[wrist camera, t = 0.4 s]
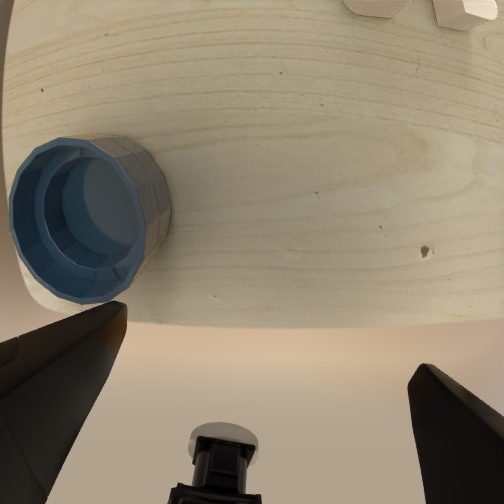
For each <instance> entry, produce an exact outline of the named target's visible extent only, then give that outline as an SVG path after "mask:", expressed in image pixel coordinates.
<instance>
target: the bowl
mask: <svg viewBox="0 0 504 504" xmlns="http://www.w3.org/2000/svg"><path fill="white" fill-rule="evenodd" d="M170 210H171V203H170V199H169V194H168V190H167V186H166V182H165V177H164V175H163V173H162V172H161V170H160V169H159V168H158V166H157V165H156V163H155V162H154V160H153V159H152V157H151V156H150V154H149V153H148V152H147V151H146V150H145V149H143V148H141V147H140V146H138V145H137V144H135V143H134V142H132V141H130V140H129V139H127V138H126V137H123V136H116V135H107V134H89V135H77V136H67V137H59V138H57V139H54V140H52V141H50V142H48V143H45V144H43V145H41V146H39V147H37V148H35V149H34V150H33V151H32V152H31V154H30V155H29V156H28V157H27V158H26V160H25V161H24V162H23V163H22V165H21V166H20V167H19V168H18V170H17V172H16V175H15V178H14V182H13V185H12V188H11V192H10V195H9V227H10V230H11V234H12V237H13V240H14V243H15V246H16V249H17V252H18V255H19V257H20V258H21V260H22V261H23V263H24V264H25V266H26V267H27V269H28V270H29V271H30V273H31V274H32V276H33V277H34V279H36V281H38V282H39V283H40V284H41V285H43V286H44V287H45V288H46V289H48V290H49V291H50V292H52V293H53V294H54V295H56V296H57V297H59V298H62V299H65V300H69V301H72V302H75V303H78V304H81V305H85V304H94V303H103V302H108V301H110V300H111V299H113V298H114V297H115V296H117V295H118V294H120V293H121V292H123V291H124V290H126V289H127V288H129V287H130V285H131V284H132V283H133V282H134V280H135V279H136V278H137V277H138V275H139V274H140V273H141V272H142V270H143V269H144V268H145V267H146V265H147V264H148V263H149V262H150V260H151V259H152V258H153V257H154V256H155V254H156V252H157V250H158V249H159V247H160V245H161V244H162V242H163V240H164V238H165V237H166V235H167V232H168V224H169V217H170Z"/></svg>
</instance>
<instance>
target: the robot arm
mask: <svg viewBox="0 0 504 504" xmlns="http://www.w3.org/2000/svg"><path fill="white" fill-rule="evenodd" d="M126 329H127V305H126V304H125V303H121V302H118V301H114V300H113V301H110V302H107V303H105V304H102V305H99V306H97V307H94V308H91V309H89V310H86V311H83V312H81V313H78V314H75V315H73V316H70V317H68V318H65V319H62V320H60V321H57V322H54V323H52V324H49V325H46V326H44V327H41V328H38V329H36V330H33V331H31V332H28V333H25V334H23V335H20V336H19V337H18V338H17V337H15V338H12V339H9V340H7V341H4V342H1V343H0V504H45V503H46V501H47V498H48V497H47V496H49V494H50V492H51V490H52V487H53V485H54V483H55V481H56V479H57V477H58V474H59V472H60V470H61V468H62V466H63V464H64V462H65V460H66V458H67V456H68V454H69V452H70V450H71V448H72V446H73V444H74V442H75V439H76V438H77V436H78V433H79V432H80V430H81V428H82V426H83V424H84V422H85V420H86V418H87V416H88V414H89V412H90V410H91V409H92V407H93V405H94V403H95V401H96V399H97V397H98V395H99V394H100V392H101V390H102V388H103V386H104V384H105V382H106V380H107V378H108V376H109V374H110V371H111V369H112V366H113V364H114V361H115V359H116V356H117V354H118V351H119V349H120V346H121V344H122V342H123V339H124V337H125V334H126ZM408 396H409V403H410V412H411V420H412V428H413V433H414V438H415V443H416V448H417V453H418V458H419V463H420V469H421V475H422V481H423V487H424V494H425V500H426V504H504V416H502V415H501V414H500V413H498V412H497V411H496V410H494V409H492V408H491V407H490V406H489V405H487V404H486V403H485V402H483V401H482V400H480V399H479V398H478V397H477V396H475V395H474V394H472V393H471V392H470V391H468V390H467V389H466V388H464V387H463V386H462V385H460V384H459V383H457V382H456V381H455V380H453V379H452V378H451V377H449V376H448V375H447V374H445V373H444V372H442V371H441V370H440V369H438V368H437V367H436V366H434V365H432V364H425V363H423V364H421V365H420V366H419V367H418V368H417V370H416V371H415V373H414V375H413V376H412V378H411V379H410V381H409V383H408ZM255 450H256V446H255V445H252V444H246V443H239V442H233V441H227V440H221V439H216V438H210V437H205V436H197V440H196V445H195V451H194V456H193V462H192V464H193V465H195V470H194V475H193V481H192V486H188V485H184V484H183V483H178V484H177V487H175V488H171V492H170V497H169V501H168V503H167V504H262V501H261V494H256V495H253V494H245V492H246V474H247V468H248V466H249V464H250V462H251V459H252V457H253V455H254V453H255Z"/></svg>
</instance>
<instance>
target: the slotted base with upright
mask: <svg viewBox="0 0 504 504" xmlns="http://www.w3.org/2000/svg"><path fill="white" fill-rule="evenodd" d="M412 1H413V0H343V2H344V4H345V5H346V7H347V8H348V9H349V10H351V11H352V12H354V13H356V14H358V15H363V16H373V17H383V18H392V17H393V16H394V15H395V14H397V13H398V12H399V11H400V10H402V9H403V8H404V7H405V6H407V5H408V4H409V3H410V2H412ZM432 1H433V6H434V10H435V14H436V18H437V23H438V26H441V27H446V28H450V29H455V30H459V31H464V30H467V29H469V28H472V27H475V26H477V25H480V24H483V23H485V22H488V21H491V20H494V19H495V18H496V17H497V14H498V11H497V6H496V2H495V0H432Z"/></svg>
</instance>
